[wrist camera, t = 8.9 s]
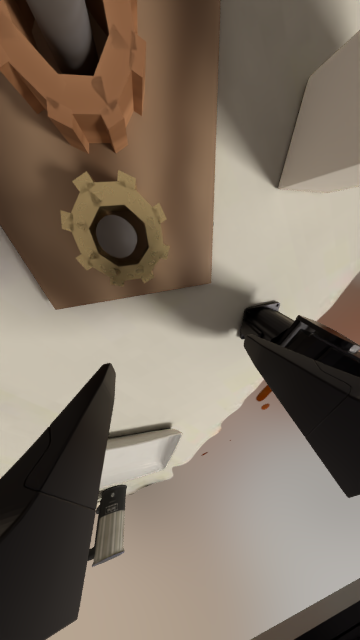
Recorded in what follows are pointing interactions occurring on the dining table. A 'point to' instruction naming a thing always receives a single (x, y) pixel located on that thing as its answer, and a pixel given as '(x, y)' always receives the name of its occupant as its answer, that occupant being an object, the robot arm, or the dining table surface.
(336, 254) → the dining table surface
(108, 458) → the square plate
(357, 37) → the milk carton
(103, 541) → the milk frother
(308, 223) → the dining table surface
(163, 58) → the gear board
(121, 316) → the dining table surface
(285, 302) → the dining table surface
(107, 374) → the robot arm
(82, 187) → the wooden gear
